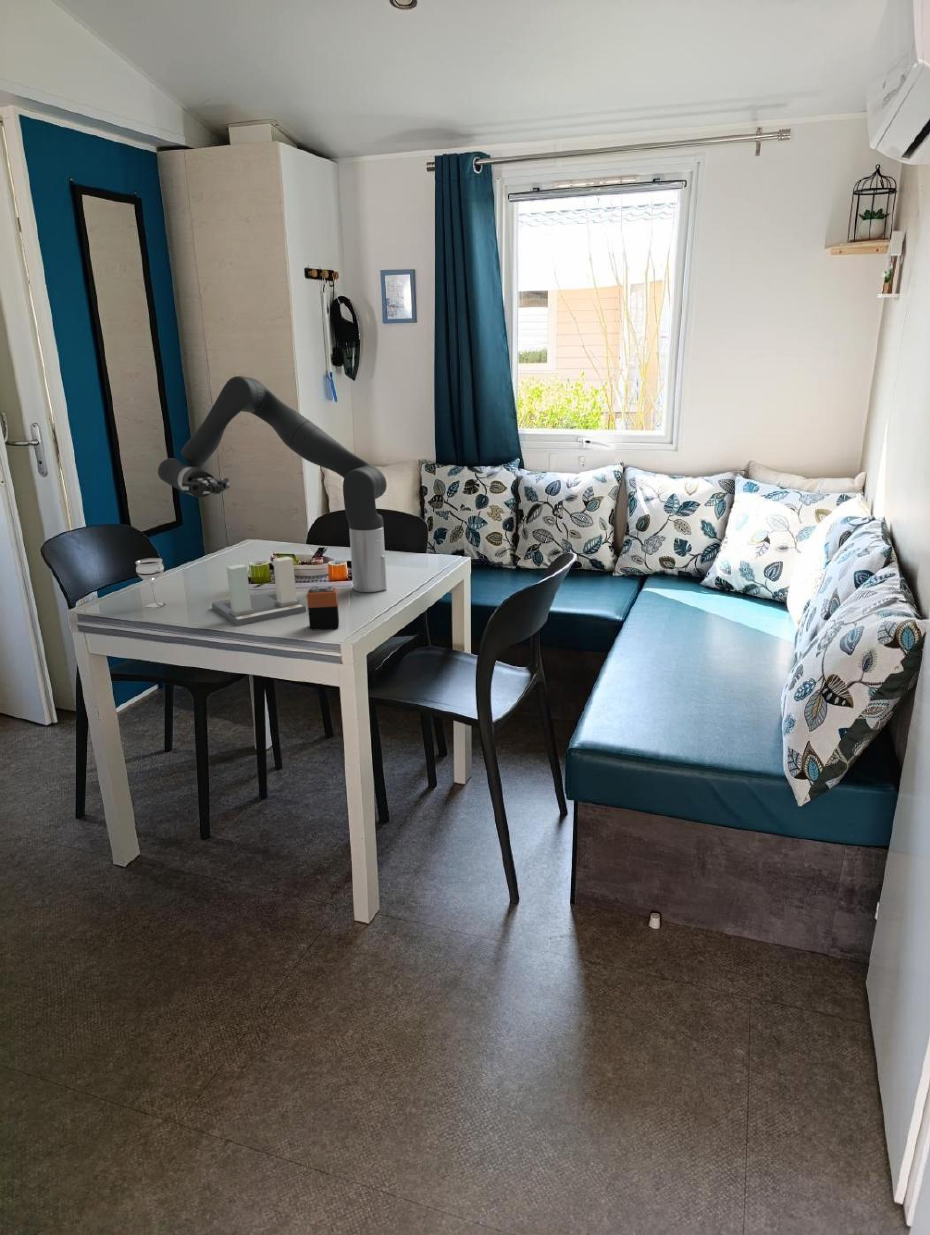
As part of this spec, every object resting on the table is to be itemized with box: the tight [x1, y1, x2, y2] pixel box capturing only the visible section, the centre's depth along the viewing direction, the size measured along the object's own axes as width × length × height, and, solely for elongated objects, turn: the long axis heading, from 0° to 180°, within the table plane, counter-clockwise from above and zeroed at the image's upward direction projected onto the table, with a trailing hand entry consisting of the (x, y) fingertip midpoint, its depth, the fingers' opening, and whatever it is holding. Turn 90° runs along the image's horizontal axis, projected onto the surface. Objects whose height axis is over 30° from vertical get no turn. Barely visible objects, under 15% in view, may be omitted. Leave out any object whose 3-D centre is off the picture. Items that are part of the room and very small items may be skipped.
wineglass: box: [135, 557, 165, 608], centre depth 214 cm, size 7×7×12 cm
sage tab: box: [226, 563, 254, 617], centre depth 201 cm, size 4×5×12 cm
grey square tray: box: [211, 590, 307, 627], centre depth 210 cm, size 18×18×2 cm
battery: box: [306, 585, 340, 630], centre depth 195 cm, size 4×7×10 cm, turn 97°
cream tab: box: [272, 556, 300, 607], centre depth 207 cm, size 4×5×12 cm
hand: (217, 489), depth 207 cm, fingers closed
